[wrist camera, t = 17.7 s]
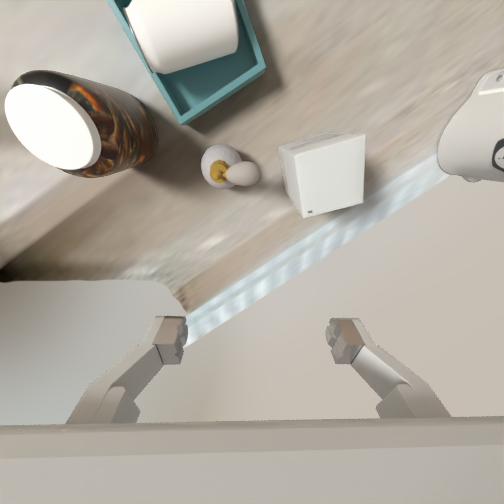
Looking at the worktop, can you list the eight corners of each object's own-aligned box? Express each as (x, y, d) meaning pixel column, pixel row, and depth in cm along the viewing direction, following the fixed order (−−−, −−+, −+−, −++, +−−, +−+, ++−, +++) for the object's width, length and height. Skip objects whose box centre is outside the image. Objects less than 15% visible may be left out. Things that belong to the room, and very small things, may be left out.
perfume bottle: (196, 154, 37) (178, 165, 26) (242, 128, 34) (240, 128, 24) (217, 190, 40) (208, 211, 30) (259, 168, 38) (264, 183, 28)
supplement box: (327, 180, 40) (365, 205, 27) (285, 192, 41) (302, 221, 28) (325, 130, 35) (369, 132, 22) (276, 145, 36) (293, 155, 24)
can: (221, -52, 20) (110, -20, 19) (242, 28, 22) (142, 58, 22) (221, 5, 26) (136, 30, 26) (237, 63, 28) (159, 87, 28)
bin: (211, -77, 23) (205, -114, 19) (263, 74, 30) (266, 67, 27) (119, 7, 26) (99, -11, 23) (186, 124, 34) (180, 124, 30)
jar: (126, 72, 30) (41, 32, 17) (170, 150, 36) (130, 163, 23) (69, 106, 32) (-45, 93, 19) (119, 174, 38) (58, 198, 26)
